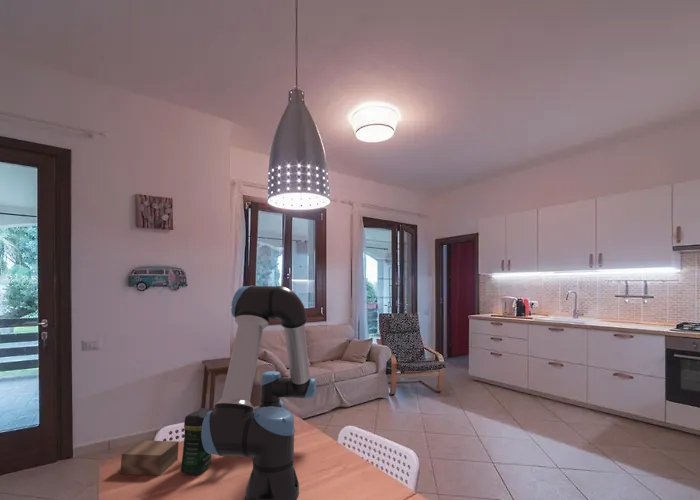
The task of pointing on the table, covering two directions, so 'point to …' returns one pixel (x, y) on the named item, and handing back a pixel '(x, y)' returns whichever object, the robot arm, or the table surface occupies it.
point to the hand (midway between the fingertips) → (195, 436)
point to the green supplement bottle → (194, 444)
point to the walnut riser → (149, 457)
